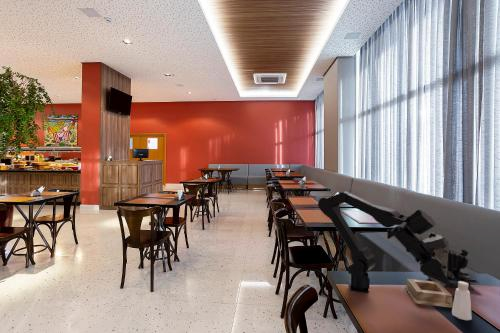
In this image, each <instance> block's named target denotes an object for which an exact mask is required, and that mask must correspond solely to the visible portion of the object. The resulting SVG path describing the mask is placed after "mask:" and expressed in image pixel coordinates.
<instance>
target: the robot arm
mask: <svg viewBox="0 0 500 333" xmlns="http://www.w3.org/2000/svg"><path fill="white" fill-rule="evenodd" d="M317 203H318V204H317V207H318V209H319V210H320V211H321V212H322V213H323V214H324V215H325V216H326V217H327V218H329V220H331V222H332V224H333V225H334V227H335V229H336V230H337V232H338V233H339V235H340V237H341V238H342V240H343V242H344V243H345V245H346V247H347V248H348V250H349V253H350V259H351V262H352V263H351V265H349V266H348V267H346V268H347V273H348V274H349V282H348V285H349V286H348V287H349V289H350V291H355V292H363V293H369V292H370V290H369V289H370V285H371V284H370V281H371V278H370V276H369V273H368V272H370V271H371V269H373V268H374V267H375V265H376V263H377V262H376V259H375V257H376V256H375V254H374V253H372V251H371V248H370V247H368V246H367V247H364V246H363V245H362V244H361V243H360V241H359V239H357V237H356V235H355V233H354V232H353V231H352V229H351V227H350V226H349V224H348V223H347V221H346V219H345V217H344V216H343V214H342V211H341V206H340V205H342V204H346V205H349V206H350V207H352V208H354V209H357V210H359V211H361V212H362V213H365V214H367V215H369V216H371V217H372V219H374V220H375V221H376V222H377V223H379V225H381V226H383V227H384V228H388V229H387V231H386V232H387V236H386V238H387V239H388V240H390V239H391V238H392V237H393V238H395V239H396V240H397V242H399V243H400V244H401V246H402V247H404V249H405V251H406V252H407V253H409V254H410V255H411V256H412V257H413V258H414V260H415V262H417V263H418V269H419V272H421V273H422V274H423V275H424V276H426V277H427V276H429V277H432V278H434V279H436V280H438V281H440V282H442V283H444V284H445V286H446V285H447V286H450V285H451V284H452V281H449V280H448V278H447V277H446V275H445V272H444V271H443V269H442V263H441V262H440V260H439V259H438V258H437V257H436V256H435V251H434V250H437V249H441V248H446V247H447V246H446V243H445V241H444V239H443V238H444V237H443V236H442V235H441V234H438V236H437V235H435V234H434V233H435V232H429V233H428V235H427V237H426V238H424V239H422V238H421V237H419V236H420V235H423V234H424V233H426V232H428V231H429V230H431V229H432V228H434V227H436V222H435V221H434V219H433V218H432V216H430V215H428V213H426V212H425V211H423V210H422V209H421V208H419V209H417V210H416V211H415V212H414V213H412V214H410V215H409V216H408V215H404V214H401V212H399V211H398V210H396V209H393V208H390V207H386V206H380V205H377V204H374V203H372V202H370V201H368V200H366V199H364V198H361V197H360V196H357V195H355V194H353V193H351V192H349V191H342V192H339V193H336V194H334V195H331V196H323V197H321V198H319V199H318V202H317ZM394 226H396V227H394ZM391 227H394V228H392V229H390V228H391ZM417 235H419V236H417Z"/></svg>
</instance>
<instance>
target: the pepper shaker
mask: <svg viewBox="0 0 500 333" xmlns="http://www.w3.org/2000/svg"><path fill="white" fill-rule="evenodd" d="M469 287H470V286H469V282H463V281H459V282H458V281H457V288H455V292H454V298H453V301H452V303H453V308H452V309H451V314H452V316H453V317H456V318H457V319H459V320H464V321H472V319H473V318H472V306H471V303H472V302H471V293H470V290H469Z"/></svg>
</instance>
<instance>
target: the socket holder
mask: <svg viewBox="0 0 500 333" xmlns="http://www.w3.org/2000/svg"><path fill="white" fill-rule="evenodd" d="M404 289H405V290H406V292H407V291H408V292H407V293H408V294H410V295H409V296H410V298H411V299H412V300H413V303H415V304H420V305H426V306H427V305H428V306H433V307H435V306H437V307H444V308H449V309H451V308H453V295H452V293H450V291H448V290H447V289H446V287H445V286H444V287H443V286H442V285H441V284H440V283H439V282H433V281H431V280H424V279H422V280H421V279H414V278H413V279H411V278H407V279H406V285H404Z"/></svg>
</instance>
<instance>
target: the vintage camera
mask: <svg viewBox="0 0 500 333" xmlns="http://www.w3.org/2000/svg"><path fill="white" fill-rule="evenodd" d="M433 233H434V234H435V235H437V236H438V235H439V234H438V233H435V232H433ZM443 239H444V241H445V243H446V246H447V247H446V248H441V249H437V250H434V251H435V256H436V257H437V258H438V259H439V260H440V262H441V263H442V269H443V271H444V272H445V275H446V277H447V278H448V280H449V281H450V282H457V283H458V282H459V281H463V282H466V283H468V284H469V286H468V287H471V284H472V283H474V284H480V282H479V281H477V279H476V278H474V277H472V276H471V275H470V274H469V273H468V272H462V271H461V270H464V269H466V268H467V266H468V263H469V261H470V259H467V258H466V257H467V256H468V254H469V251H467V250H466V249H463V248H462V249H461V252H460V253H458V252H456V251H454V250H451V249H450V242H449V240H448V239H446V237H443ZM426 277H427V278H428V279H429V281H433V282H439V283H440V284H441V285H442V286H443V287H444V288H445V286H446V284H444V283H442V282H440V281H438V280H436V279H434V278H432V277H429V276H426Z"/></svg>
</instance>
